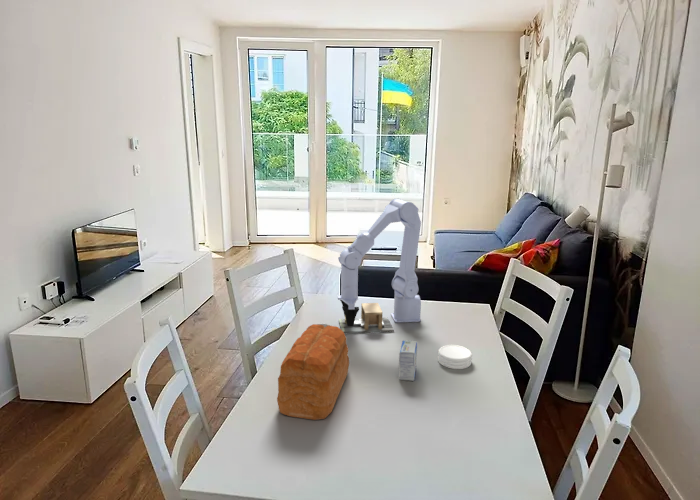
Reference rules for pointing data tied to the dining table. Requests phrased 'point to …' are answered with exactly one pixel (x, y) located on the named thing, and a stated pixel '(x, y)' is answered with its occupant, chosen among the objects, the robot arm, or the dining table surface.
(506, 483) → the dining table surface
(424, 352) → the dining table surface
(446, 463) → the dining table surface
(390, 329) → the track
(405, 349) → the medicine box
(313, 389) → the bread
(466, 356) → the coaster
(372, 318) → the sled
